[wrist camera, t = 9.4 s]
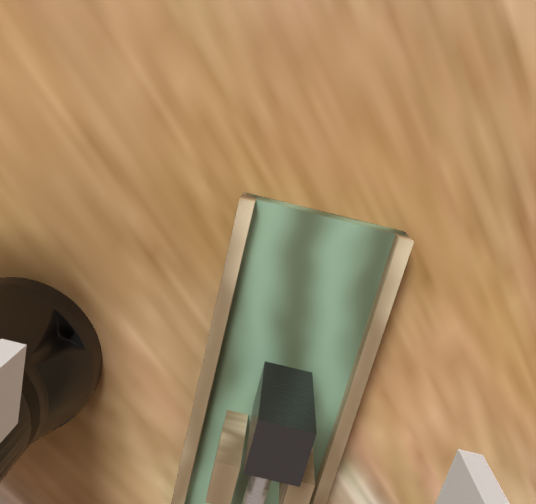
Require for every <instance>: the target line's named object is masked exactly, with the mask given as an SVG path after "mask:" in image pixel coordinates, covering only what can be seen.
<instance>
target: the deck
mask: <svg viewBox="0 0 536 504" xmlns="http://www.w3.org/2000/svg"><path fill="white" fill-rule="evenodd" d="M413 243H414V241H413V240H412V239H411V238H410V237H409V236H408V235H407V234H406V233H405V232H404V231H400V230H396V229H391V228H387V227H383V226H379V225H375V224H371V223H367V222H363V221H359V220H355V219H351V218H347V217H343V216H339V215H335V214H330V213H326V212H322V211H318V210H314V209H310V208H306V207H302V206H298V205H294V204H290V203H286V202H282V201H278V200H274V199H269V198H265V197H261V196H257V195H253V194H249V193H245V192H244V193H243V194H242V196H241V198H240V200H239V204H238V208H237V213H236V217H235V222H234V226H233V231H232V235H231V240H230V244H229V248H228V253H227V257H226V262H225V266H224V271H223V275H222V280H221V284H220V288H219V293H218V297H217V302H216V306H215V311H214V315H213V320H212V324H211V329H210V333H209V337H208V342H207V346H206V351H205V355H204V360H203V364H202V369H201V373H200V377H199V382H198V386H197V391H196V395H195V400H194V404H193V409H192V413H191V417H190V422H189V426H188V431H187V435H186V440H185V444H184V449H183V453H182V458H181V462H180V466H179V471H178V475H177V480H176V484H175V489H174V493H173V498H172V502H171V504H242V502H243V499H244V495H245V491H246V488H247V484H248V481H249V477H250V475H246V474H243V473H244V466H245V458H246V451H247V444H248V437H249V430H250V423H251V415H252V408H253V404H254V400H255V396H256V392H257V389H258V385H259V381H260V377H261V374H262V370H263V366H264V362H265V361H266V362H270V363H275V364H279V365H283V366H287V367H291V368H295V369H300V370H304V371H308V372H312V375H313V389H314V403H315V417H316V432H317V434H316V438H315V441H314V444H313V447H312V450H311V454H310V457H309V460H308V463H307V466H306V470H305V473H304V476H303V479H302V482H301V486H300V487H297V486H293V485H289V484H285V483H280V482H276V481H272V480H271V483H270V486H269V490H268V493H267V496H266V500H265V503H264V504H326V503H327V500H328V497H329V494H330V491H331V488H332V485H333V482H334V479H335V476H336V473H337V470H338V467H339V464H340V461H341V458H342V455H343V452H344V449H345V446H346V443H347V440H348V437H349V434H350V431H351V428H352V425H353V422H354V419H355V416H356V413H357V411H358V408H359V405H360V402H361V399H362V396H363V393H364V390H365V387H366V384H367V381H368V378H369V375H370V372H371V369H372V366H373V363H374V360H375V357H376V354H377V351H378V348H379V345H380V342H381V339H382V336H383V333H384V330H385V327H386V324H387V321H388V318H389V315H390V312H391V309H392V306H393V303H394V300H395V297H396V294H397V291H398V288H399V285H400V282H401V279H402V276H403V273H404V270H405V267H406V264H407V261H408V258H409V255H410V252H411V249H412V246H413Z"/></svg>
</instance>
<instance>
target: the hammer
mask: <svg viewBox="0 0 536 504" xmlns="http://www.w3.org/2000/svg"><path fill="white" fill-rule="evenodd" d="M316 434H317V432H316V417H315V403H314V389H313V375H312V372H308V371H304V370H300V369H295V368H291V367H287V366H283V365H279V364H275V363H270V362H266V361H265V362H264V366H263V370H262V374H261V377H260V381H259V385H258V389H257V392H256V396H255V400H254V404H253V408H252V415H251V423H250V430H249V437H248V444H247V451H246V458H245V466H244V473H243V474H246V475H250V477H249V481H248V484H247V488H246V491H245V495H244V499H243V502H242V504H264V503H265V500H266V496H267V493H268V490H269V486H270V483H271V480H272V481H276V482H280V483H285V484H289V485H293V486H297V487H300V486H301V482H302V479H303V476H304V473H305V470H306V466H307V463H308V460H309V457H310V454H311V450H312V447H313V444H314V441H315V438H316Z"/></svg>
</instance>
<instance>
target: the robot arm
mask: <svg viewBox="0 0 536 504" xmlns="http://www.w3.org/2000/svg"><path fill="white" fill-rule="evenodd" d="M101 371H102V352H101V346H100V342H99V339H98V336H97V334H96V332H95V329H94V327H93V326H92V324H91V322H90V321H89V319H88V318H87V316H86V315H85V314H84V312H83V311H82V310H81V309H80V308H79V307H78V306H77V305H76V304H75V303H74V302H73V301H72V300H71V299H69V298H68V297H67V296H66V295H64V294H63V293H61V292H59V291H58V290H56V289H54V288H52V287H50V286H48V285H46V284H43V283H40V282H38V281H34V280H30V279H25V278H15V277H7V278H0V482H1V480H2V479H3V478H4V477H5V475H6V474H7V473H8V471H9V470H10V469H11V467H12V466H13V465H14V464H15V462H16V461H17V460H18V459H19V457H20V456H21V455H22V453H23V452H24V451H25V450H26V448H27V447H28V446H29V445H30V444H31V443H33V442H34V441H36V440H37V439H39V438H41V437H42V436H44V435H46V434H47V433H49V432H50V431H52V430H54V429H56V428H58V427H60V426H62V425H64V424H66V423H67V422H69V421H70V420H71V419H72V418H73V417H75V416H76V415H77V414H78V413H79V412H80V411H81V409H82V408H83V407H84V405H85V404H86V403H87V401H88V400H89V399H90V397H91V396H92V394H93V393H94V391H95V389H96V387H97V385H98V382H99V379H100V376H101ZM435 504H509V502H508V500H507V498H506V496H505V494H504V493H503V491H502V489H501V487H500V485H499V483H498V482H497V480H496V478H495V476H494V474H493V473H492V471H491V469H490V467H489V465H488V463H487V462H486V460H485V458H484V456H483V455H481V454H477V453H473V452H469V451H464V450H460V449H458V450H457V453H456V455H455V458H454V460H453V462H452V465H451V467H450V470H449V472H448V474H447V477H446V479H445V482H444V484H443V487H442V489H441V491H440V494H439V496H438V499H437V501H436V503H435Z"/></svg>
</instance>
